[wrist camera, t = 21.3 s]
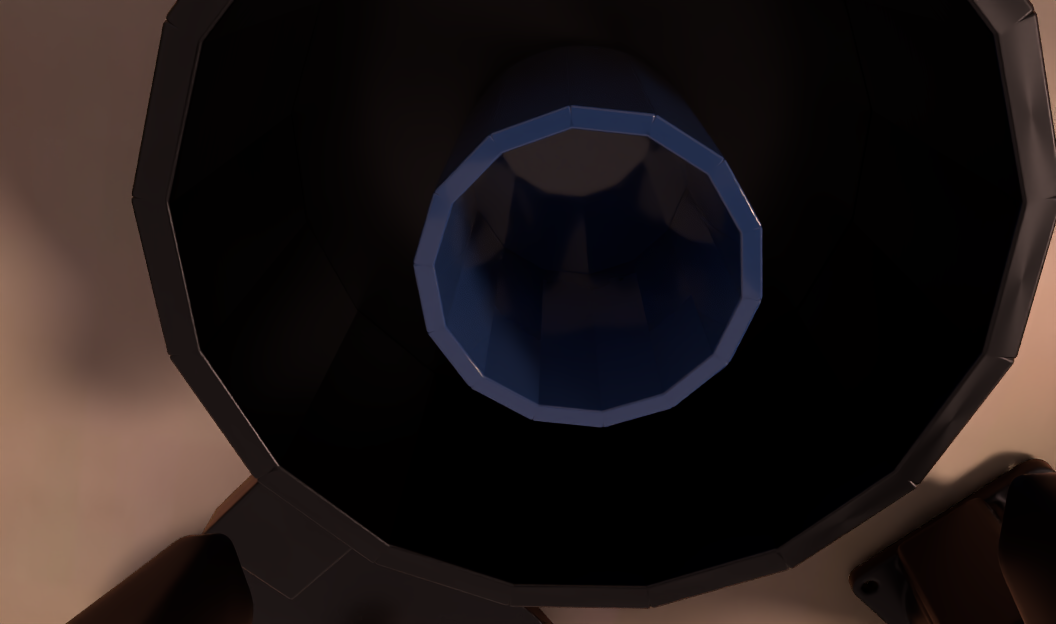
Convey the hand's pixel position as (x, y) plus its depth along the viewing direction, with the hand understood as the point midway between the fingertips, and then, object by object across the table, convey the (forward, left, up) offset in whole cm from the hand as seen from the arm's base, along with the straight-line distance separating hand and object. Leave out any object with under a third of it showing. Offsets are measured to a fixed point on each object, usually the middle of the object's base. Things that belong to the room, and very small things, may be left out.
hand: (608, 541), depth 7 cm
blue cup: (0, 0, -12) cm, 13 cm away
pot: (0, 0, -13) cm, 13 cm away
